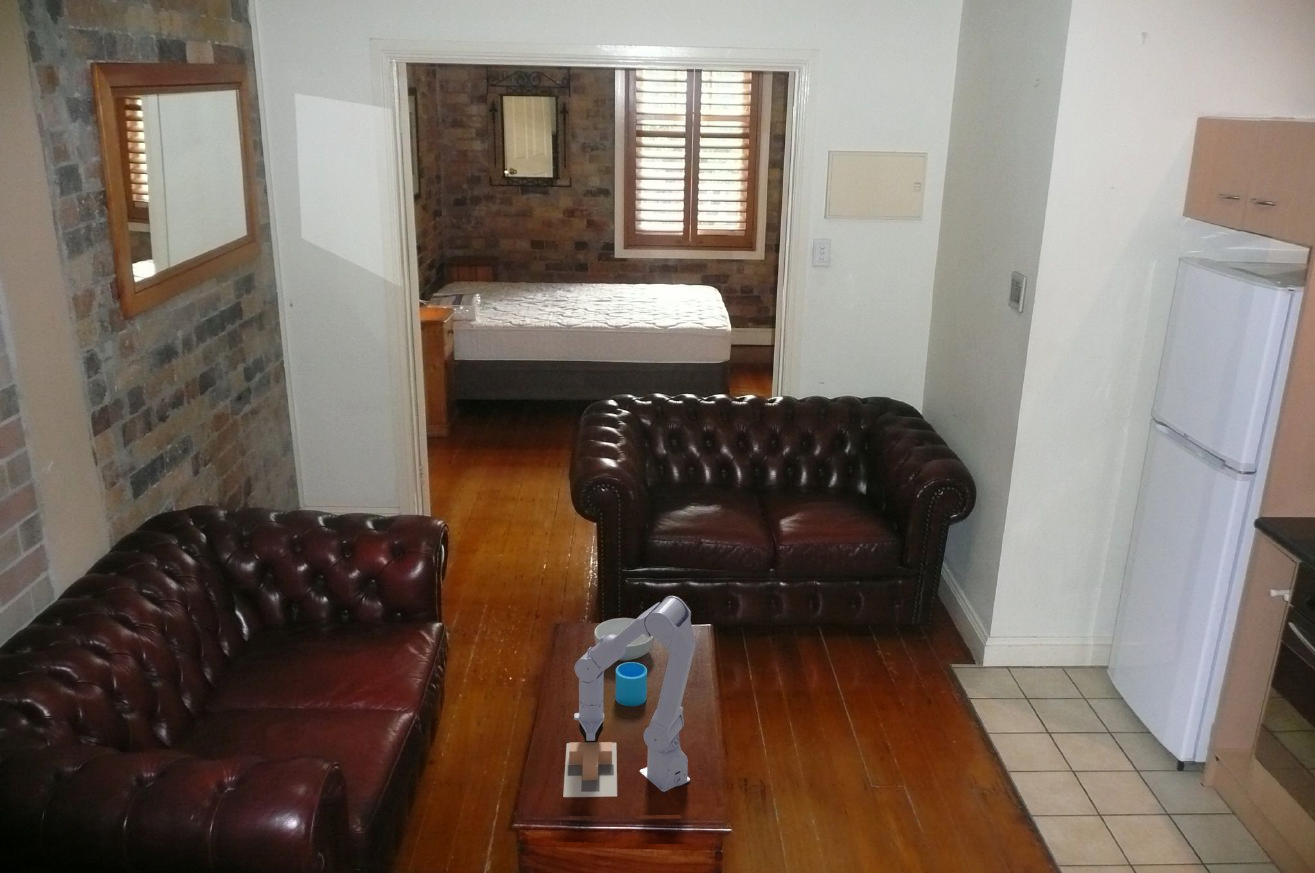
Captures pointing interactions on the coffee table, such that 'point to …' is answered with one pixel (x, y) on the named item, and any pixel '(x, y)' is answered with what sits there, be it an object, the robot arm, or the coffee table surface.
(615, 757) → the push mat
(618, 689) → the mug
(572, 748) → the t block
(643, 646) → the cereal bowl
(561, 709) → the coffee table surface
